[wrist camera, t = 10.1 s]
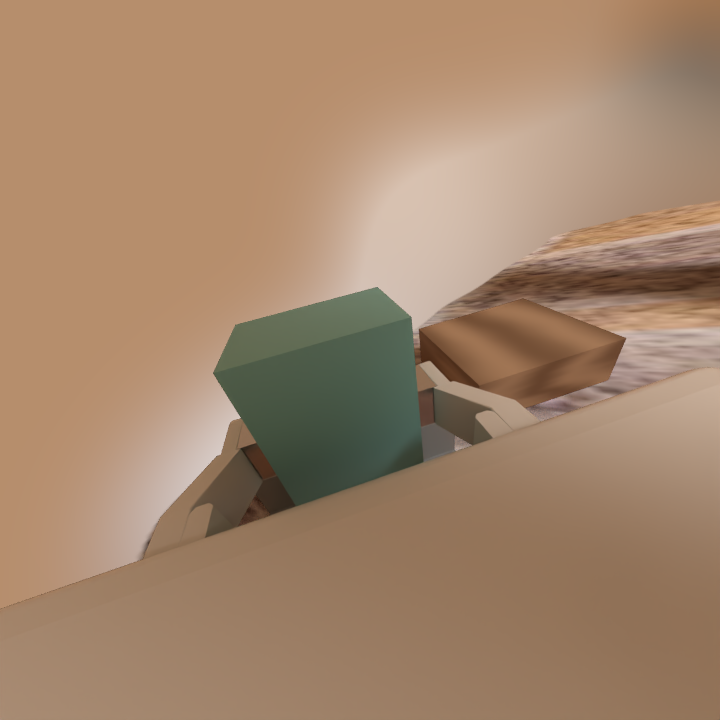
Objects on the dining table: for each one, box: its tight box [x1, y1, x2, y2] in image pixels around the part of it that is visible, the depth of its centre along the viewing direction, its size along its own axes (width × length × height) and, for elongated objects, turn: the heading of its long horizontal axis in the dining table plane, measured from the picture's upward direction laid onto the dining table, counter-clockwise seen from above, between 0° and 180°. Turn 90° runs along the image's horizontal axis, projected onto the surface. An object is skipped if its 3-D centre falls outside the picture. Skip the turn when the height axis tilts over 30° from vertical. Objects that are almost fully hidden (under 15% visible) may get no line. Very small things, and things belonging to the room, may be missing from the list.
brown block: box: [419, 299, 626, 408], centre depth 24 cm, size 12×10×4 cm
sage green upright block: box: [213, 287, 424, 506], centre depth 10 cm, size 5×3×10 cm, turn 104°
